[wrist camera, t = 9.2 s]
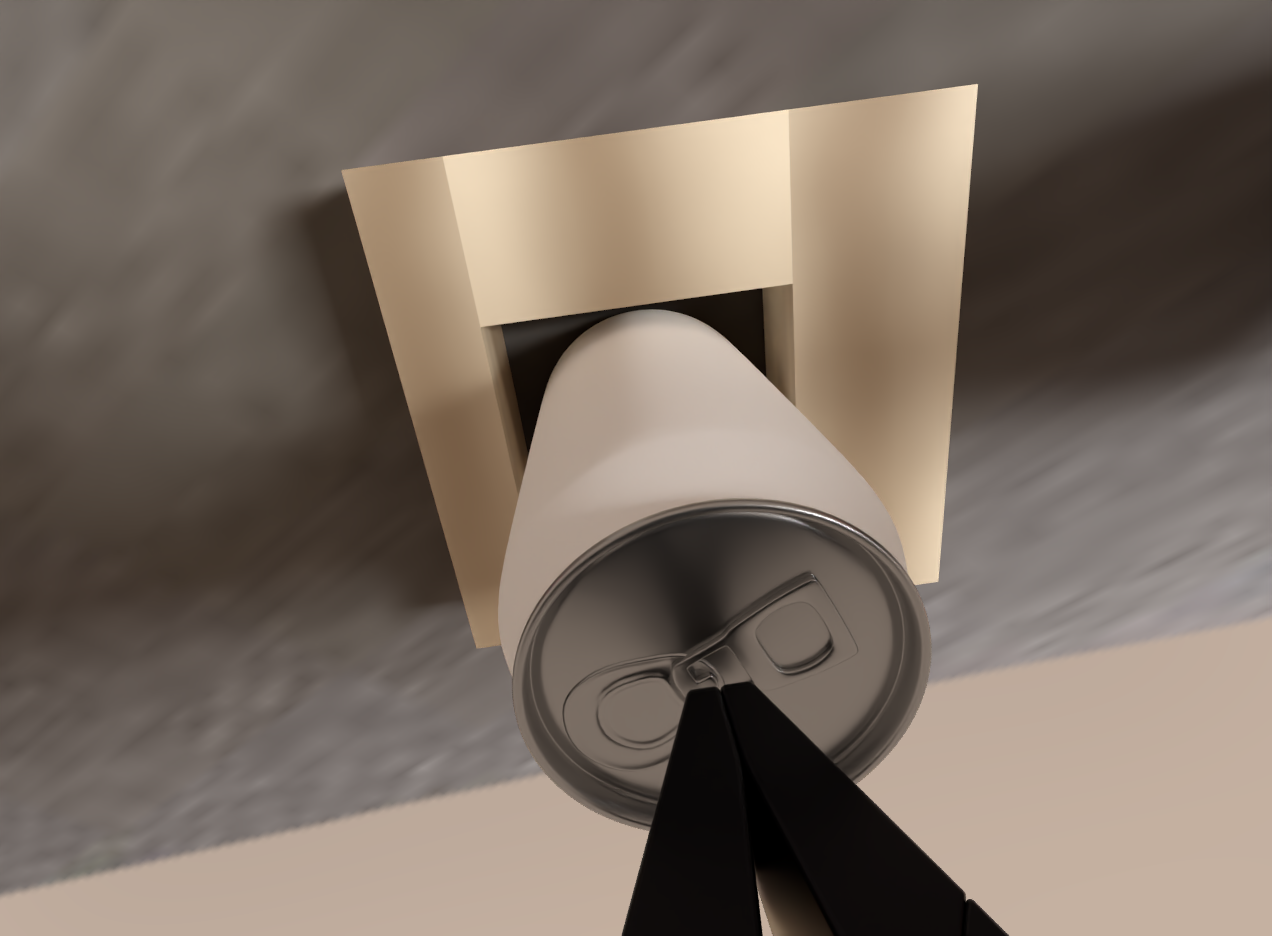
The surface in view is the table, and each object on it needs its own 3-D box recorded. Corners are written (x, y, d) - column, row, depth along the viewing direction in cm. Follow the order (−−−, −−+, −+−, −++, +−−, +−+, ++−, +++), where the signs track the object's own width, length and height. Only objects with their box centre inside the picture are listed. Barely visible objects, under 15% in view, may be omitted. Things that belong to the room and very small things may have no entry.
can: (499, 382, 19) (368, 641, 8) (686, 261, 18) (846, 358, 7) (616, 540, 21) (644, 912, 10) (786, 441, 20) (1028, 733, 9)
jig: (913, 103, 16) (978, 83, 14) (894, 533, 22) (938, 581, 19) (383, 175, 16) (341, 170, 14) (491, 591, 21) (476, 648, 19)
